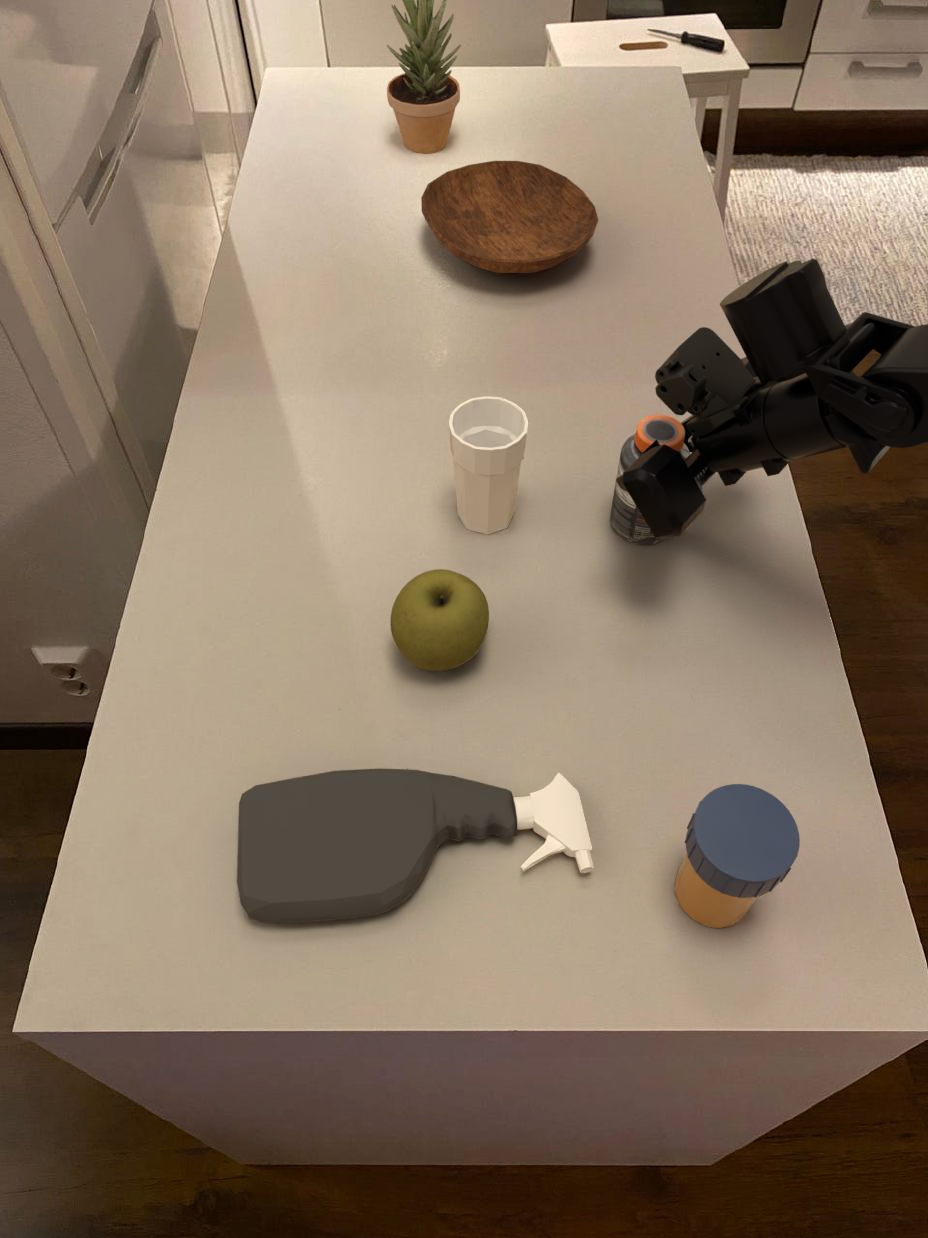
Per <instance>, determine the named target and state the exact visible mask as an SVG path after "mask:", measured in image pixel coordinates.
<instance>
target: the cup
mask: <svg viewBox="0 0 928 1238" xmlns="http://www.w3.org/2000/svg"><path fill="white" fill-rule="evenodd" d="M528 426H529V420H528V418H527V414H526V411H525V410H524V409H522V408H521V407H520V406H519V405H517V404H516V402H513V401H510V400H509V399H506V398H504V397H502V396H501V397H499V396H488V395H487V396H479V397H478V396H477V397H471V398H470V399H467V400H466V401H463V402H462V403H460V404H458V405H457V406H456V407H455V409H453V410H452V412H450V415H449V421H448V431H449V443H450V452H451V456H452V460H453V471H454V473H453V474H454V482H455V484H454V485H455V495H456V507H457V508H456V510H457V516H458V518H459V519H460V521H461V522H462V524H463V526H464V527H465V529H466V530H468V531H473V532H476V533H479V534H483V535H486V536H487V535H491V534H494V533H497V532H499V531H503V530H506V529H508V528H509V526H510V523H511V521H512V519H513V517H514V515H515V511H516V510H515V509H516V500H517V493H518V485H519V479H520V472H521V464H522V461H523V460H524V459H525V458H524V457H525V451H526V450H525V449H526V444H527V443H526V442H527V435H528Z"/></svg>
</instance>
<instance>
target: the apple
mask: <svg viewBox="0 0 928 1238" xmlns="http://www.w3.org/2000/svg"><path fill="white" fill-rule="evenodd" d="M489 622H490V609H489V603H488V599H487V597H486V595H485V593H484V591H483V590H482V588H480V586H479V585H478V584H477V583H476V582H475V581H474V580H472V579H471V578H470V577H468V576H466V575H464V574H461V573H459V572H456V571H453V570H450V569H444V568H443V569H442V568H437V569H431V570H427V571H424V572H421V573H420V574H418V575H416V576H414V577H413V578H412V579H410V580H409V581H408V582H407V583H406V584H405V585H404V586H403V587H402V588H401V590H400V591H399V593H398V594H397V595H396V597H395V599H394V601H393V605H392V607H391V613H390V632H391V633H390V634H391V637H392V639H393V642H394V644H395V646H396V648H397V649H398V651H399V652H400V654H401V655H402V656H403V657H404V658H405V659H406V660H407V661H409V662H410V664H412V665H414V666H415V667H418V668H420V669H422V670H425V671H431V672H442V671H443V672H444V671H448V670H452V669H455V668H458V667H460V666H462V665H464V664H465V663H467V662H468V661H470V660H471V659H472V658H474V656H475V655H476V654H477V652H478V651H479V650H481V649H480V648H481V647H482V645H483V643H484V641H485V640H486V639H485V638H486V636H487V634H488V629H489Z"/></svg>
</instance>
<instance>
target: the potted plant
mask: <svg viewBox="0 0 928 1238" xmlns="http://www.w3.org/2000/svg"><path fill="white" fill-rule="evenodd" d="M401 1H402V3H403V5H404V7H405V10H406V12H407V13H406V12H404V13H403V14H404V16H403V14H402V13H401V12H400V11H399V9H398V7H397V6H396V5H395V4H394V5H393V4H391V5H390V6H391V9H392V11H393V14H394V16H395V19H396V21H397V23H398V25H399V27H400V28H401V30H402V32H403V33H404V35H405V38H406V40H407V42H408V44H409V45H408V44H406V43H404V48H405V49H403V48H401V47H399V51H400V53H401V54H400V53H398V52H397V51H396V50H395V49H393V48H392V47H391V46H390V45H389V44H386V47H387V49H388V50H389V51H390V53H391V54H392V55H393V56H394V57H395V58H396V59H397V61H399V62H398V65H399V67H400V68H401V69H402V71H403V72H404V73H402V74H399V75H396V76H394V77H393V78H392V79H391V80H390V81H389V82H388V83H387V86H386V98H387V103H388V105H389V107H390V108H391V109H392V110H393V114H394V116H395V119H396V122H397V125H398V128H399V132H400V134H401V137H402V140H403V144H404V146H405V147H406V149H408V150H410V151H411V152H414V153H421V154H433V153H437V152H440V151H443V150H444V148H446V146H447V141H448V140H449V136H450V131H451V127H452V124H453V119H454V116H455V112H456V108H457V106H458V105H459V103H460V101H461V87H460V83H459V81H458V79H456V78H454V77H453V76H452V75H451V74H452V69H451V67H452V66H453V64H454V63H455V61H456V60H457V58H458V55H455V54H456V53H457V52H458V51H459V49H460V48H461V47H462V44H459V45H458V46H456V47H455V48H454V49H453V50H452V51H451V52H450V53H449V54H447V55H446V56H445V57H443V56H444V53H445V51H446V49H447V46H448V45H449V43H450V41H451V39H452V35H453V33H452V32H450V33H449V31H450V28H451V26H452V23H453V21H454V17H455V14H454V13H452V14H451V16H450V17H449V18H448V20H447V21H446V22H445V23H444V24H443V26H442V27H441V24H442V21H443V16H444V13H445V10H446V7H447V1H448V0H442V2H441V4H440V6H439V9H438V11H437V12H436V13H435V16H434V5H435V0H416V1H415V0H401ZM407 15H408V16H407ZM408 17H409V18H408ZM409 19H410V22H409ZM440 27H441V28H440ZM448 33H449V35H448V37H447V34H448ZM446 37H447V38H446ZM454 55H455V56H454ZM452 57H453V58H452ZM451 58H452V59H451ZM445 63H446V64H445ZM449 69H450V70H449Z"/></svg>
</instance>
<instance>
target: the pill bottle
mask: <svg viewBox="0 0 928 1238" xmlns="http://www.w3.org/2000/svg"><path fill="white" fill-rule="evenodd" d="M684 438H685V429H684V427H683V425H682V424H681V422H680V421H679V420H678V419H676V418H674V417H672V416H669V415H666V414H653V415H648V416H645V417H643V418H642V419H641V420H640V421H639V422H638V424H637V426H636V431H635V433H634V434H632V435H630V436H629V437H628V438H627V439H626V440H625V442H624V443H623V445H622V447H621V449H620V453H619V454H620V455H619V459H618V466H617V472H616V476H615V477H616V478H617V477H619V476H620V475H622V474H623V472H624V471H625V470H626V469H627V468H629V467H630V466H631V465H632V464H633V463H634V462H635V461H636V460H637V459H638V457H639V456H640V455H641V454H642V453H643V452H644V451H645V450H646V449H647V448H648V447H649V446H650V445H651V444H652V443H653V442H654V441H655V440H657V441H658V442H659V444H660V445H663V444H665V445H667V446H669V447H671V448H673V449H675V450H677V451H679V452H680V454H681V456H682V458H683V459H684V460H685V459H686V458H687V457H688V456H689V455H690V454H691V452H689V449H688V447H687V446H686V445H685V443H684ZM616 478H615V479H616ZM610 507H611V508H610V513H609V522H610V525H611V527H612V529H613V531H614V532H615V534H616V535H618V536H619V537H621V538H622V539H623V540H624V541H627V542H629V543H632V544H636V545H656V544H659V543H661V542H663V541H665V540H666V539H659V538H655V537H654V535H653V533H652V532H651V530H650V528H649V527H648V525H647V523H646V522H645V520H644V518H643V516H642V515H641V513H640V511H639V510H638V508H637V506H636V505H635V503H634V501H633V500H632V498H631V496H630V495H629V493H628V492H626V491H624V490H622V489H621V488H620V487H619V485H618V483H617V482H616V481H615V484H614V490H613V495H612V502H611V506H610Z"/></svg>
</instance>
